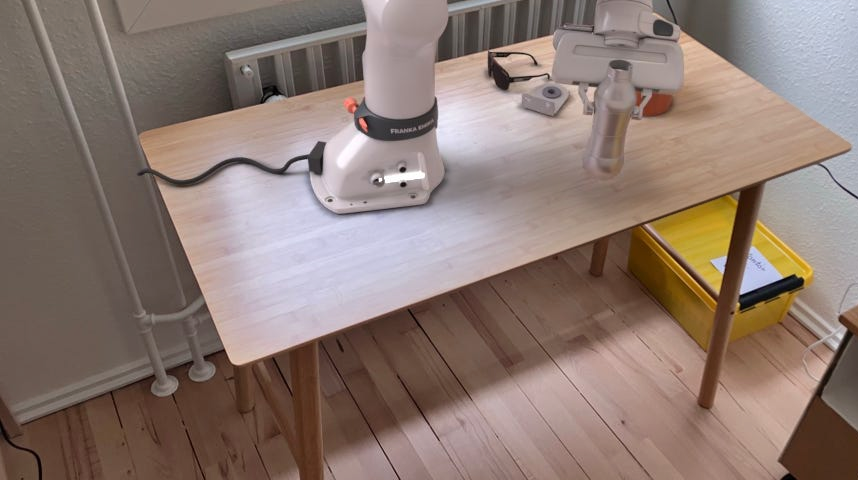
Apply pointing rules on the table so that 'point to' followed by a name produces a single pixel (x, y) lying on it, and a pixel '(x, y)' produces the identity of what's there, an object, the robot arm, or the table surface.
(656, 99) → the holder sleeve
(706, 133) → the table surface
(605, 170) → the plastic bottle
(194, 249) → the table surface
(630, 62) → the robot arm
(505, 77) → the sunglasses
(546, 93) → the bracket
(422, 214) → the table surface
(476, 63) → the table surface
